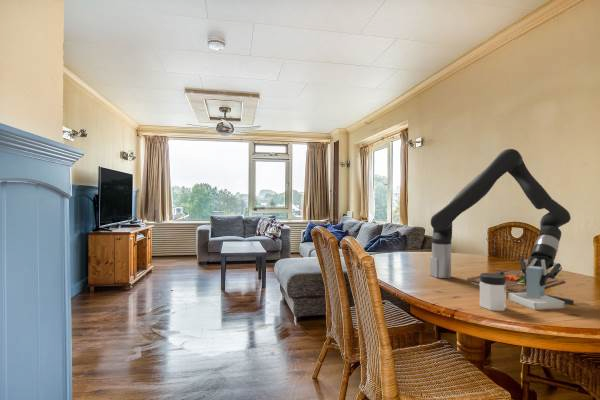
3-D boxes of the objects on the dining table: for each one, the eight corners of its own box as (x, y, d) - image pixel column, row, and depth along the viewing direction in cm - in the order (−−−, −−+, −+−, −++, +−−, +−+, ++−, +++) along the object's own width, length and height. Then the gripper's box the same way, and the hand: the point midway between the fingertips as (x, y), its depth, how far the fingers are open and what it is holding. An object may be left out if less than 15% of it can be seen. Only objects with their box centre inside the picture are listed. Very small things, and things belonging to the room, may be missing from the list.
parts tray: (534, 310, 117) (534, 303, 117) (508, 299, 129) (508, 293, 129) (564, 308, 119) (564, 301, 119) (535, 297, 131) (535, 291, 131)
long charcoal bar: (538, 297, 131) (538, 293, 131) (539, 296, 132) (539, 293, 132) (572, 304, 122) (572, 300, 122) (573, 303, 123) (573, 300, 123)
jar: (482, 301, 126) (482, 271, 126) (507, 306, 121) (507, 274, 121) (477, 308, 119) (477, 275, 119) (503, 313, 114) (503, 279, 114)
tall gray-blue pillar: (526, 295, 124) (526, 267, 124) (531, 293, 127) (531, 265, 127) (539, 298, 121) (539, 269, 120) (544, 295, 124) (544, 267, 123)
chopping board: (520, 296, 134) (520, 289, 134) (460, 282, 158) (460, 275, 158) (568, 282, 157) (568, 275, 157) (510, 271, 180) (510, 265, 180)
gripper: (522, 241, 134) (509, 274, 127) (565, 245, 122) (553, 281, 115) (527, 252, 137) (515, 285, 130) (569, 257, 125) (559, 293, 118)
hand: (533, 283), depth 123 cm, fingers closed on tall gray-blue pillar, 4 cm apart
